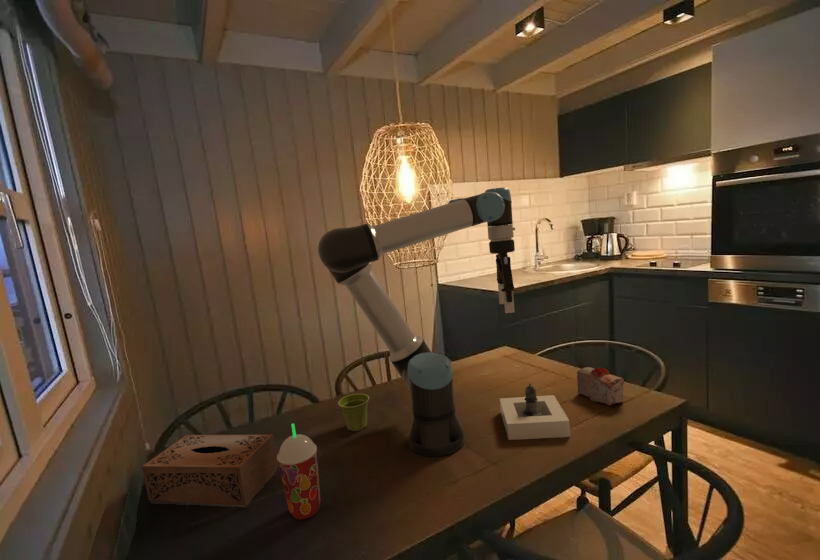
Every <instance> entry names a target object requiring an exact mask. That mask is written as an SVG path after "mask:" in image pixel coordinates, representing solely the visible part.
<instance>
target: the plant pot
mask: <svg viewBox="0 0 820 560" xmlns="http://www.w3.org/2000/svg"><path fill="white" fill-rule="evenodd" d="M369 400H370V396H369V395H368V394H365V393H352V394H349V395H345V396H343V397H342V398H340V399H339V400H338V401H337V404H338V406H339V407H340V410H341V411H342V414H343V420H344V422H345V425H346V429H347V431H352V432H359V431H362V430H364V428H366V427H367V426H368V405H369V402H370V401H369Z"/></svg>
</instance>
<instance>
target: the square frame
mask: <svg viewBox="0 0 820 560" xmlns="http://www.w3.org/2000/svg"><path fill="white" fill-rule="evenodd" d="M525 398H526V396H521V397H519V396H518V397H517V396H516V397H505V398H504V397H503V398H499V406H500V414H501V419H502V422H503V425H504V429H505V433H506V437H507V440H509V441H512V440H515V441H517V440H534V439H538V440H539V439H551V438H552V439H553V438H554V439H555V438H556V439H557V438H571V425H570V419H569V417H568V416H567V414H566V413H565V411H564V409H563V408H562V406H561V405H560V402H559V401H558V400H557V398H556V396H555V395H536V398H537V399H538V400H537V407H538V408H539V409H541V410H542V411H543V414H542V416H529V417H523V414H522V413H521V411H522V410H523V409H524V408H526V401H525Z"/></svg>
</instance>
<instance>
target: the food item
mask: <svg viewBox="0 0 820 560" xmlns="http://www.w3.org/2000/svg"><path fill="white" fill-rule="evenodd" d="M576 379H577V382H576V383H577V393H578V394H580V395H583V396H585V397H587V398H589V400H591V402H598V403H601V404H604V403H605V405H606V404H607V405H606V406H613V405H612V404H614V405H617V404H616V403H618V404H621V403H623V402H624V400H623V399H624V390H625V389H624V382H625V381H624V378H623V377H620V376H616V375H614V374H612V373H611V374H610V371H609V370H608V369H606V368H605V367H596V368H593V367H592V366H591V367H589V366H588V367H587V366H586V367H583V368H581V369H578V370H577V372H576Z"/></svg>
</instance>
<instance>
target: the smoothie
mask: <svg viewBox="0 0 820 560" xmlns="http://www.w3.org/2000/svg"><path fill="white" fill-rule="evenodd" d="M291 430H292V431H291V432H292V435H290V436H288V437H287V438H286V439H285V440H283V442H282V443H281V445H280V447H279V449H278V452H277V453H276V457H277V464H278V470H279V472H280V477H281V482H282V486H283V490H284V495H285V499H286V504H287V508H288V512H289V514H291V515H292V517H293V518H295V519H297V520H306V519H308V518H311V517H313V516H314V515H315V514H317V512H318V511H319V508H320V506H321V501H322V499H321V498H322V497H321V487H320V477H319V462H318V461H319V459H318V445H316V444H315V443H314V441H313V440H312V439H311V438H309V436H308V435H305V434H301V433H297V432H296V425H295V423H291Z"/></svg>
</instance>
